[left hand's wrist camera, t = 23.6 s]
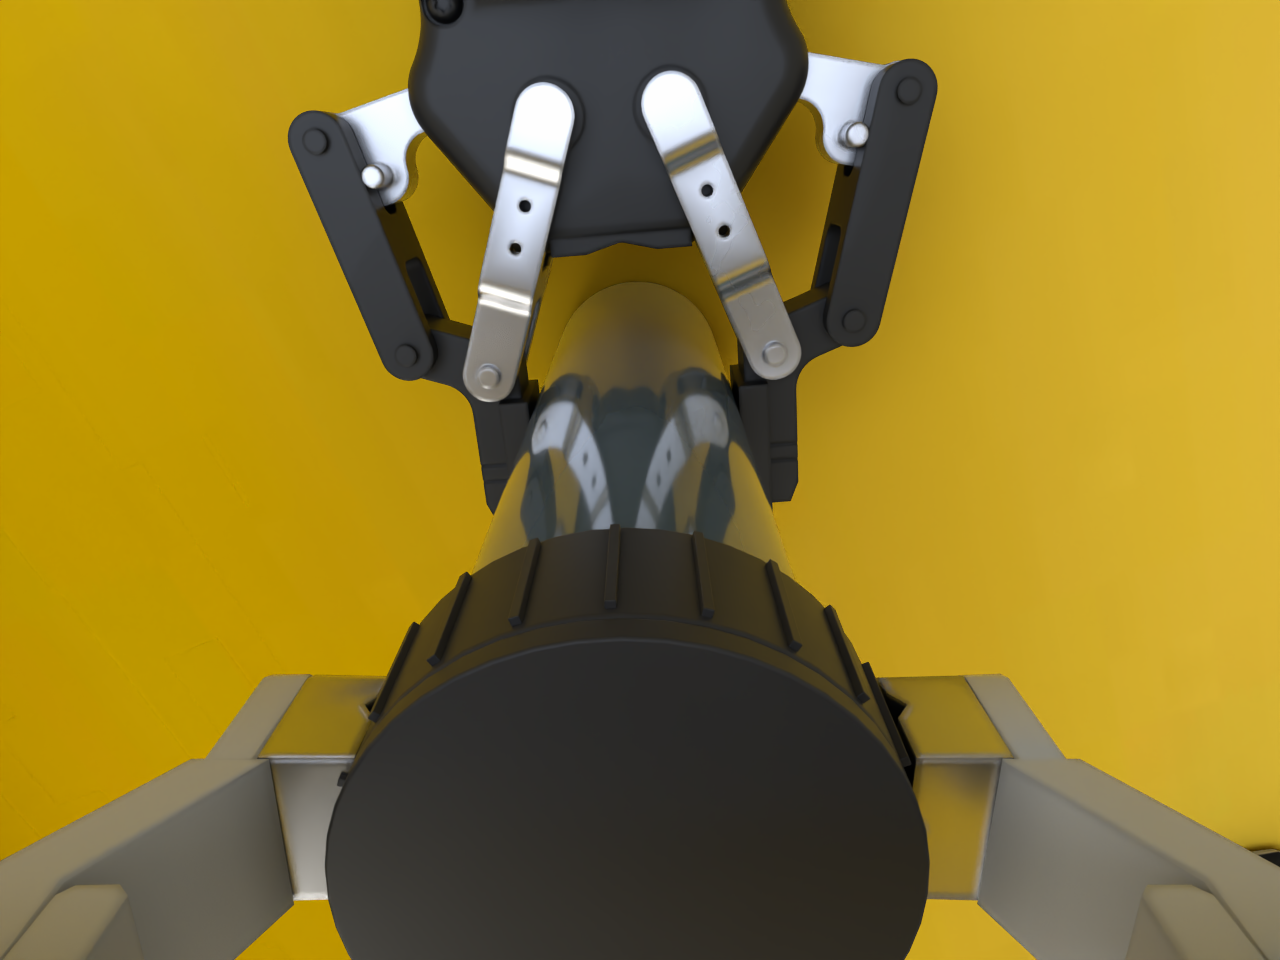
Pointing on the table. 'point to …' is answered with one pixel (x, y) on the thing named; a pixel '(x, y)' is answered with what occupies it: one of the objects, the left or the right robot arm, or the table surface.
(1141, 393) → the table surface
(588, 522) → the jar
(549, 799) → the lid
